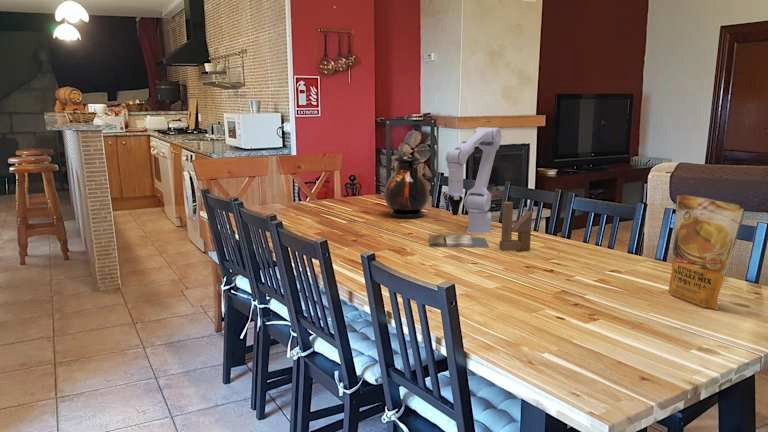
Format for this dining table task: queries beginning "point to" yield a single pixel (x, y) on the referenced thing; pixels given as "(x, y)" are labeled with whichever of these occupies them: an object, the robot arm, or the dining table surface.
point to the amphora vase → (406, 189)
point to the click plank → (458, 240)
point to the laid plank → (437, 240)
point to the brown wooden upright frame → (515, 230)
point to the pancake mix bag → (702, 248)
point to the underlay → (474, 243)
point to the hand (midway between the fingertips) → (455, 215)
